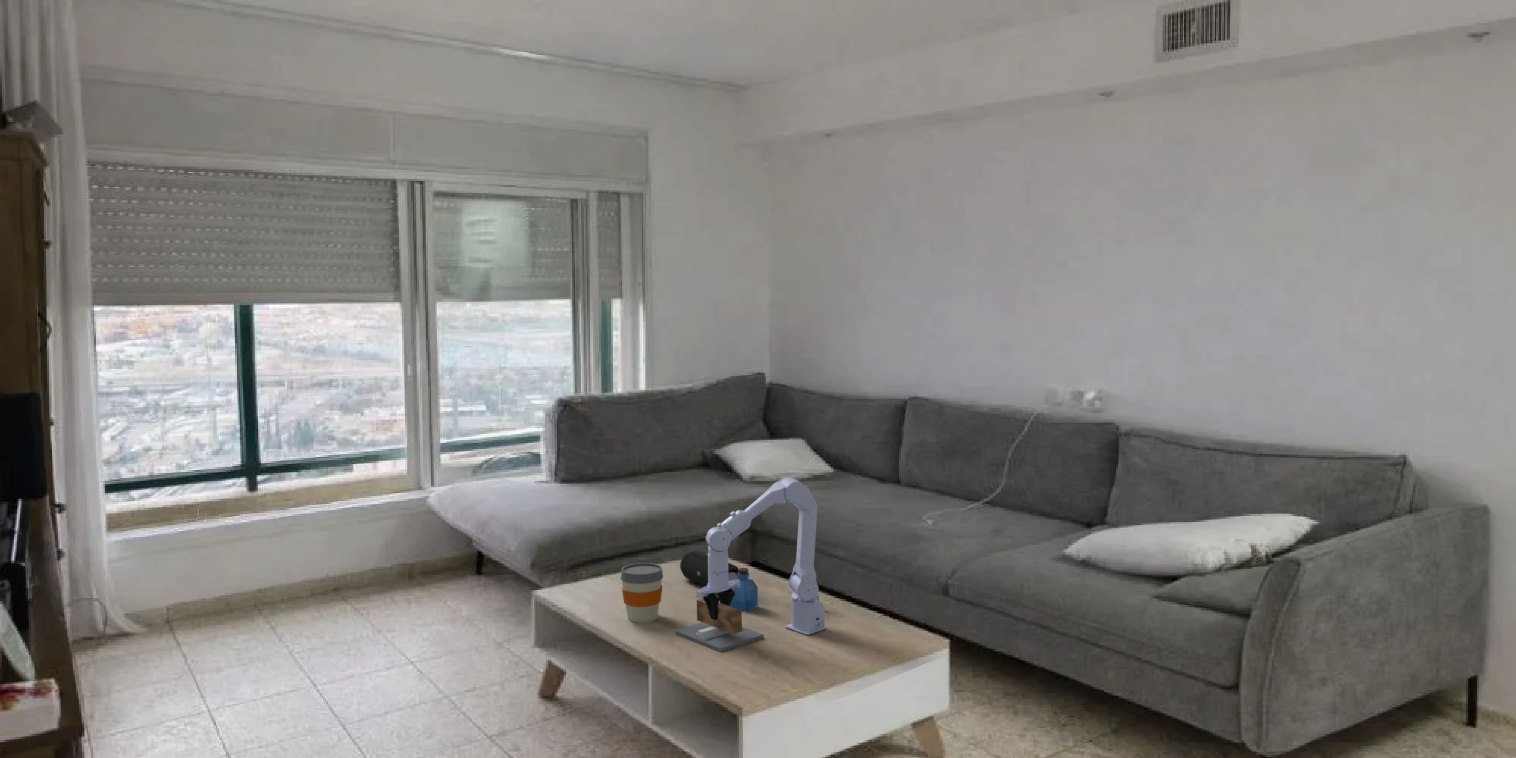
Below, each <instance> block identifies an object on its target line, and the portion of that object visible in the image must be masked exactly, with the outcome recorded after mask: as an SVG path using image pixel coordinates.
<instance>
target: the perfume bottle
mask: <svg viewBox="0 0 1516 758" xmlns="http://www.w3.org/2000/svg"><path fill="white" fill-rule="evenodd" d="M738 568H739V569H738V571H739V572H738V577H739V579H737V580H738V581H740V588H733V589H732V591H735V596H734V597H733V599H732V601H731V603H730V607H733V608H736V609H739V610H742V612H743V611H747V612H749V611H751V610H753V609H752V608H754V609H756V608H757V607H756V606H758V607H759V604H758V603H759V602H758V601H759V599H758V597H759V596H758V595H759V594H758V591H759V590H758V586H757V584H756V583H755V581H754V579H751V578H749V577H750V572H749V568H747V567H738ZM755 607H756V608H755ZM750 609H751V610H750ZM748 610H749V611H748Z"/></svg>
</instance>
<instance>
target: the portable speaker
mask: <svg viewBox="0 0 1516 758" xmlns="http://www.w3.org/2000/svg"><path fill="white" fill-rule="evenodd" d="M679 568H680V571H681V574H683V577H684V578H685V579H687V580H690V581H691V582H693V583H696V584H697V585H700V586H703V587H705V586H707V583H708V553H704V552H702V551H699V550H693V551H689V552H687V553H685V554H684V555H683V556H682V557H681V559H680V563H679ZM739 568H740V567H738V566H737V565H735V564H732V563H729V562H728V580H729V581H732V580H737V579H739V577H738V572H739V571H738V569H739Z"/></svg>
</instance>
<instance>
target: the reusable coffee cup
mask: <svg viewBox="0 0 1516 758" xmlns="http://www.w3.org/2000/svg"><path fill="white" fill-rule="evenodd" d="M663 573H664V572H663V567H662V566H661V565H660V564H657V563H650V562H649V563H648V562H638V563H637V562H636V563H630V564H627V565H625V566H622V568H621V572H620V580H621V583H622V586H621V592H622V600H623V603H624V604H625V609H626V615H627V620H629V621H630V622H633V623H640V624H641V623H649V622H650V623H651V622H653V621H655V620H657V619H658V618H659V617H658V616H659V608H660V607H659V606H660V604H661V601H662V596H663V595H662V593H663V585H662V579H663V578H664V574H663Z"/></svg>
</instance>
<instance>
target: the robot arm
mask: <svg viewBox="0 0 1516 758" xmlns="http://www.w3.org/2000/svg"><path fill="white" fill-rule="evenodd" d="M786 500H787V501H788V502H789V503H791V504H793V505H794V506H795V508H797V509H798V526H797V540H796V557H795V564H794V566H793V567H792V574H791V575H790V577H789V579H788V584H789V587H790V589H791V591H792V594H791V595H790V597H791V601H790V602H791V603H790V604H791V605H790V606H791V608H790V613H791V617H790V618H791V623H789V624H786V625H784V628H787V629H789V630H792V631H794V632H798V633H800V634H804V635H807V636H808V635H809V636H810V635H813V634H815V633H818V632H821V631H824V630H826V629H827V626H825V625H826V624H825V618H826V617H825V605H824V604H823V603H822V602H820V600H819V601H818V600H817V598H816V596H817V595H818V594H819V591H820V590H819V584H818V582H817V573H816V570H815V566H814V565H815V554H816V553H815V552H816V551H815V549H816V538H817V537H816V535H817V520H818V509H819V508H818V503H817V502H816V500H815V498H814V496H813V494H812V493H811V489H810V488H809V487H808V486H806V484H804V483H802V482H800V481H799V480H798V479H796V478H795V477H794V476H792V475H791V476H790V475H787V476H784V477H782V478H780V479H779V480H778V481H775V482H774V483H773V484H772V485H771V486H770V487H769V488H768V489H767V490H766V491H765V492H764V493H762V494H761V495H760V496H759V497H758V498H756V500H754V502H752V503H751V504H750V505H749V506H748V507H747V508H745V509H744V510H741V509H737V510H736V511H734V510H733V511H731V512H730V513H729V515H730V516H729V517H727V518H726V519H725V520H723V521H722V522H719V523H717V524H716V527H712V528H710V529H708V531H707V532H706V536H705V537H704V538H705V541H706V544H708V547H707V551H708V553H707V555H708V583H707V586H703V587H701V588H700V589H697V590H696V591H695V592H696V598H698V599H702V598H703V599H704V601H705V603H706V605H707V607H708V610H709V614H710V618H711V619H714V620H717V616H718V603H722V604H725V605H727V606H730V603H731V601H732V599H733V597H734V596H735V591H732V589H733V588H740V581H738V580H732V581H729V580H728V563H729V553H728V551H729V550H728V549H729V547H730V546H731V543H732V541H733V540H734V539H737V537H739V535H741V534H742V533H744V532H745V531H746V530H747V529H748V528H750V527H751V524H752V523H751V522H752V520H753V519H754V518H756V517H757V516H759V515H760V514H762V513H763V512H764V511H766V510H767V509H769V508H770V507H771V506H773V505H775V504H780V505H781V504H784V505H785V504H787V502H786ZM716 594H717V595H718V596H717V595H716Z"/></svg>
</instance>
